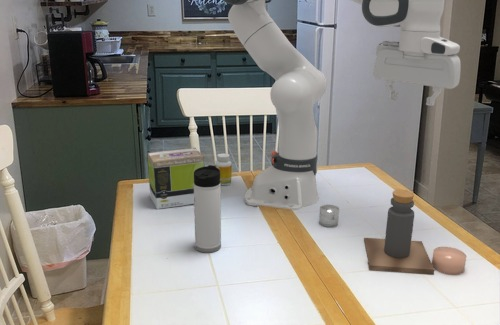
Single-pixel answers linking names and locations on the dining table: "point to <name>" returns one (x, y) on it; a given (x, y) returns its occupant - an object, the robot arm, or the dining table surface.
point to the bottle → (399, 224)
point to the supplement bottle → (224, 168)
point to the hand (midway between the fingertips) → (411, 102)
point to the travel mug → (207, 209)
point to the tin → (329, 216)
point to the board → (384, 262)
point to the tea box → (173, 176)
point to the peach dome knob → (448, 260)
